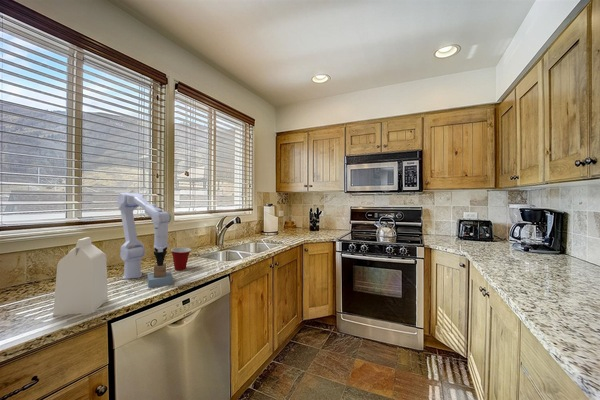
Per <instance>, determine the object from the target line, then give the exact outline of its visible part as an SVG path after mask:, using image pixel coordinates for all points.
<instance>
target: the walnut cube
mask: <svg viewBox="0 0 600 400" xmlns="http://www.w3.org/2000/svg"><path fill="white" fill-rule="evenodd" d="M166 272H167V263H163V266H157V264H154V266H153V274H154V278H156V277H165V276H166Z"/></svg>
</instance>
